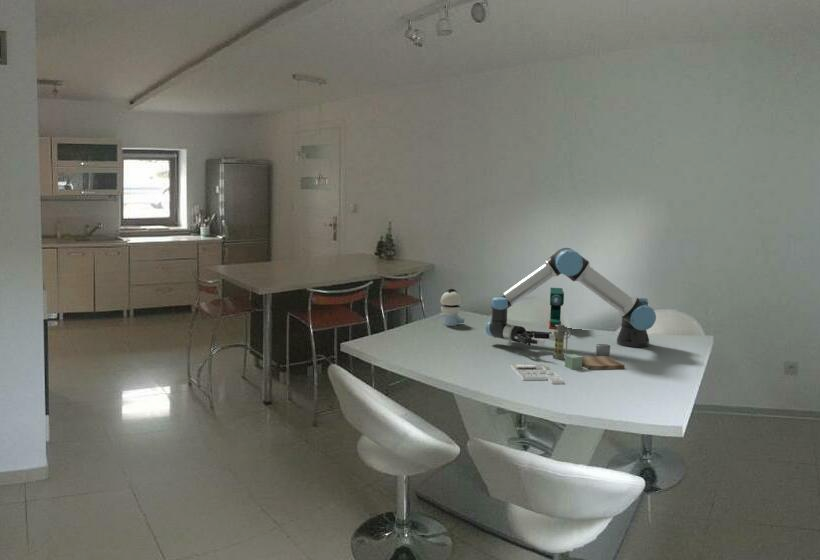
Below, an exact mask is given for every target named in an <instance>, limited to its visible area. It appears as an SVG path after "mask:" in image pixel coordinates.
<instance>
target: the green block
mask: <svg viewBox="0 0 820 560" xmlns="http://www.w3.org/2000/svg"><path fill="white" fill-rule="evenodd" d="M582 357H583V356H581V355H578V354H576V353H575V354H574V353H573V354H566V355H565V354H564V367H566V368H567V369H570V370H579V369H582V368H583V366H582Z"/></svg>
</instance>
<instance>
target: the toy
mask: <svg viewBox="0 0 820 560" xmlns="http://www.w3.org/2000/svg"><path fill="white" fill-rule="evenodd" d="M439 303H440V304H441V305H442V306H441V307H440V310H441V313H439V316H440V317H443V326H448V327H455V326H457V325H458V324H464V323H465V318H464V317H461V316H459V315H458V314H459V313H460V311H461V305H460V304H462V298H461V296H460V294H459V292H458V291H457V290H456V289H454V288H449V289H447V290H446V291H445V292H444V293H443V294H442V296H441V298H440V301H439Z"/></svg>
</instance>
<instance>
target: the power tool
mask: <svg viewBox="0 0 820 560" xmlns="http://www.w3.org/2000/svg"><path fill="white" fill-rule="evenodd" d="M549 291H550V292H549V295H550V297H549V306H550V314H549V315H550V316H549V317H550V318H549V320H548V329H550V330H557V327H556V326H555V325H562V321H561V308H562V307H563V305H564V300H565V292H564V289H563V288H562V287H550V290H549Z"/></svg>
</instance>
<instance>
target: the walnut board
mask: <svg viewBox="0 0 820 560" xmlns="http://www.w3.org/2000/svg"><path fill="white" fill-rule="evenodd" d="M581 357H582V367H584V368H585V369H587V370H589V371H590V370H623V369H624V370H625V364H623V363H622V362H621V361H618V360H616V359H615V358H613V357H611V355H610V356H596V355H594V356H592V355H589V356H587V355H586V356H581Z"/></svg>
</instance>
